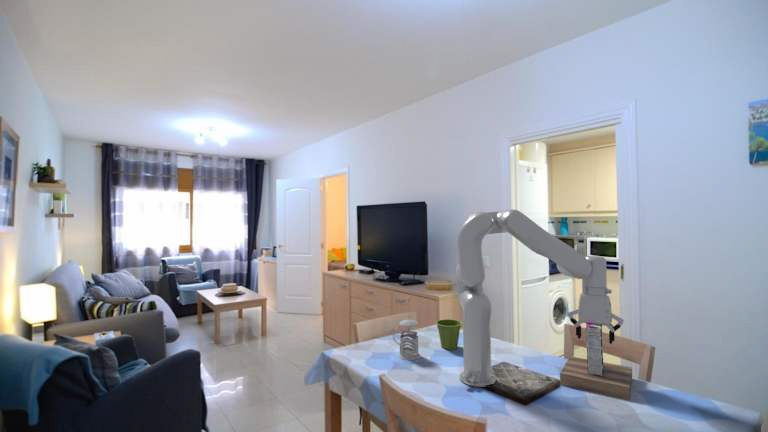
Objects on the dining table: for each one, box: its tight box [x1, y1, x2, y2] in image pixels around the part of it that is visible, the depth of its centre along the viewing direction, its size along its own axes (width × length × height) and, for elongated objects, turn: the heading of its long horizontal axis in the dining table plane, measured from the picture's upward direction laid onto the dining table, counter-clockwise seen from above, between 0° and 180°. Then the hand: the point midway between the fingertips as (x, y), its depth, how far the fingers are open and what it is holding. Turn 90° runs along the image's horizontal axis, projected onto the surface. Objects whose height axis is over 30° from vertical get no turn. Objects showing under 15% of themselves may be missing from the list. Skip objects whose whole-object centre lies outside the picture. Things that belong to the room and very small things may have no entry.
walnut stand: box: [559, 355, 633, 401], centre depth 130 cm, size 20×20×4 cm
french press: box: [392, 296, 421, 361], centre depth 159 cm, size 10×12×25 cm
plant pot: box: [435, 318, 463, 351], centre depth 169 cm, size 12×12×11 cm
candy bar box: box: [585, 323, 604, 376], centre depth 131 cm, size 11×5×16 cm, turn 150°
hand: (594, 340), depth 131 cm, fingers open, 9 cm apart
